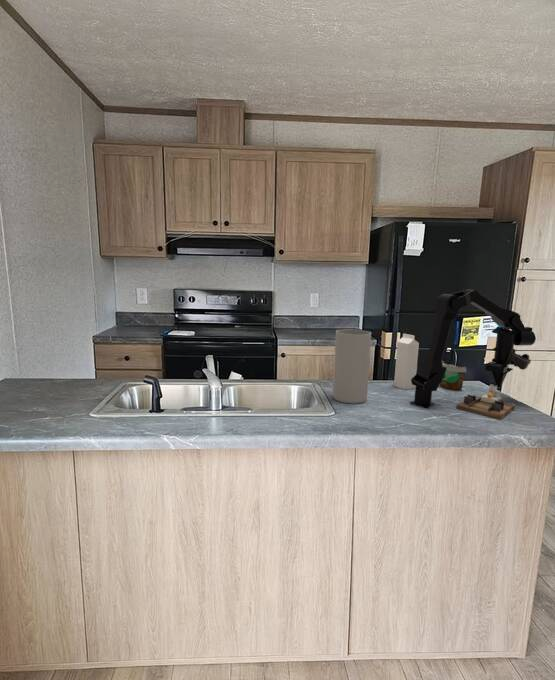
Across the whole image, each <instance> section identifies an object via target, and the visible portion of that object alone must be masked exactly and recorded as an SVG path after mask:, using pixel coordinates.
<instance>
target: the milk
mask: <svg viewBox="0 0 555 680" xmlns="http://www.w3.org/2000/svg"><path fill="white" fill-rule="evenodd" d="M419 345H420V343H419V342H418V340H416V339H415V335H413V334H407V333H402V337H401V338H399V340H397V343H396V355H395V368H394V369H395V370H394V381H393V387H395V386H396V387H395V388H398V387H399V389H401V388H402V389H401V390H404V389H407V390H411V388H413V389H415V388H416V386H415V385H412V382H411V379H412V378H413V377H414V376H415V375H416V374H417V372H418V371H417V370H418V358H419Z"/></svg>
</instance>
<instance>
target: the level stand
mask: <svg viewBox="0 0 555 680" xmlns="http://www.w3.org/2000/svg"><path fill="white" fill-rule="evenodd" d="M456 409H457V410H460V411H465V412H468V413H472V414H476V415H480V416H483V417H487V418H491V419H496V420H502V419H504V417H506V416H507V415H509V414H510V413H511V412H513V410H515V409H516V404H515V403H509V402H505V401H504V398H501V400H500V401H495V403H488V402H484V401H481V396H479V395H475V394H474V395H472V394H467V396H466V395H465V396H464V398H463V400H462V401H461V402H459V403H457V404H456Z"/></svg>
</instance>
